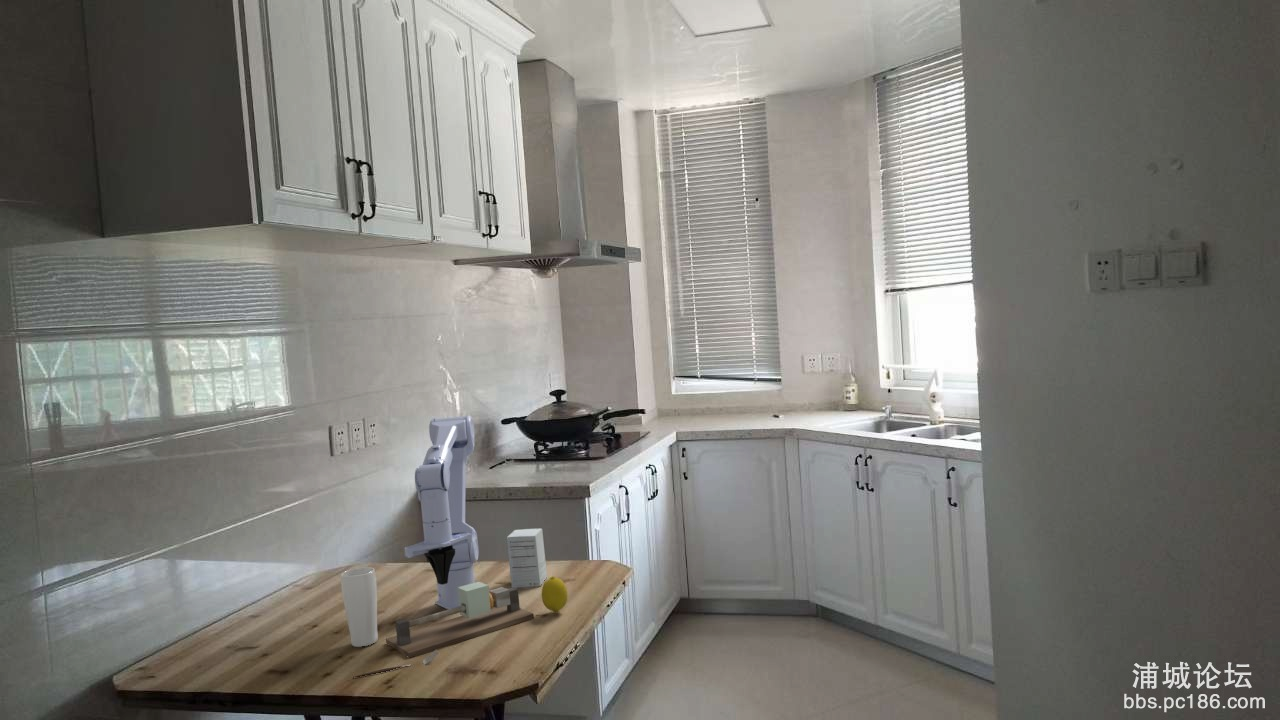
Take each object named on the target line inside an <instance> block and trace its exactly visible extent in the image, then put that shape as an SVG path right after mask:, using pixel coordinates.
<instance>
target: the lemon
mask: <svg viewBox="0 0 1280 720" xmlns="http://www.w3.org/2000/svg"><path fill="white" fill-rule="evenodd" d="M541 600H542V603H543V605H544V606H545V608H546V609H548V610H550V611H551V612H553V613H554V612H555V613H554V614H557V613H556V612H558V613H559V611H560V610H562V609H564V607H565V606H566V604H567V602H568V601H567V600H568V590H567V587H566V584H565V582H564V581H563V580H562V579H560V578H559V577H556V576H554V575H553V576H551V577H550V578H548V579H547V580H546V581H544V582H543V584H542V589H541Z"/></svg>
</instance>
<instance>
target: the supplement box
mask: <svg viewBox="0 0 1280 720" xmlns="http://www.w3.org/2000/svg"><path fill="white" fill-rule="evenodd" d="M543 533H544V532H543V528H524V529H514V530H513V531H512V532H511V533H509V535H507V536H506V542H507V553H508V564H509V571H510V572H509V575H510V583H511V588H516V589H519V588H534V587H533V586H539V587H541V584H542V585H543V584H544V583H545V581H544V580H546V579H547V578H548V574H547V563H546V554H545V553H546V552H545V545H544V544H545V543H544V534H543ZM546 577H547V578H546Z"/></svg>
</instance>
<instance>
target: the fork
mask: <svg viewBox="0 0 1280 720" xmlns="http://www.w3.org/2000/svg"><path fill="white" fill-rule="evenodd" d="M438 655H439V651H438V649H436V650H433V652H431V653H430V654H429V655H428V656H427V657H426V658H424V659H423V663H424V665H423V666H426V665H427V664H429V663H431V661H432V660H433V659H435V657H437V656H438ZM425 664H426V665H425ZM410 665H411V664H405V665H400V666H393V667H387V668H381V669H377V670H374V671H370V672H367V673H363V674H358V675H355V676H353V678H354V677H360V676H365V675H371V674H376V673H381V672H385V673H387V672H386V671H389V672H391V671H390V670H393V669H396V668H400V667H404V668H406V667H405V666H410ZM400 669H401V668H400ZM393 671H394V670H393ZM381 674H382V673H381ZM376 675H377V674H376ZM371 676H372V675H371ZM365 677H366V676H365ZM360 678H361V677H360Z"/></svg>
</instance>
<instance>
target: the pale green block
mask: <svg viewBox="0 0 1280 720" xmlns="http://www.w3.org/2000/svg"><path fill="white" fill-rule="evenodd" d="M489 591H490V589H489V585H488V584H486V583H483V582H482V581H477V582H476V581H474V583H472V584H468V585H465V586H461V587H458V597H459V606H463V605H466V611H463V612H460V613H459V616H465V617H467V618H469V619H471V618H474V617H477V616H480V615H484V614H487V613H490V612H491V607H490V597H489Z"/></svg>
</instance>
